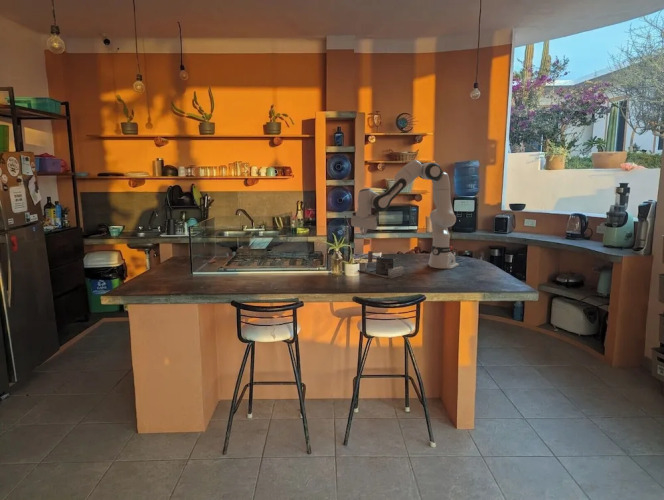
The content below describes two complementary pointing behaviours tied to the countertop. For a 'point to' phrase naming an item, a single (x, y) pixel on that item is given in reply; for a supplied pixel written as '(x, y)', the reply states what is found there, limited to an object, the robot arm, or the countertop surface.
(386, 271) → the small box
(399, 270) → the fixed jaw
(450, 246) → the robot arm
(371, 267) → the sliding jaw
